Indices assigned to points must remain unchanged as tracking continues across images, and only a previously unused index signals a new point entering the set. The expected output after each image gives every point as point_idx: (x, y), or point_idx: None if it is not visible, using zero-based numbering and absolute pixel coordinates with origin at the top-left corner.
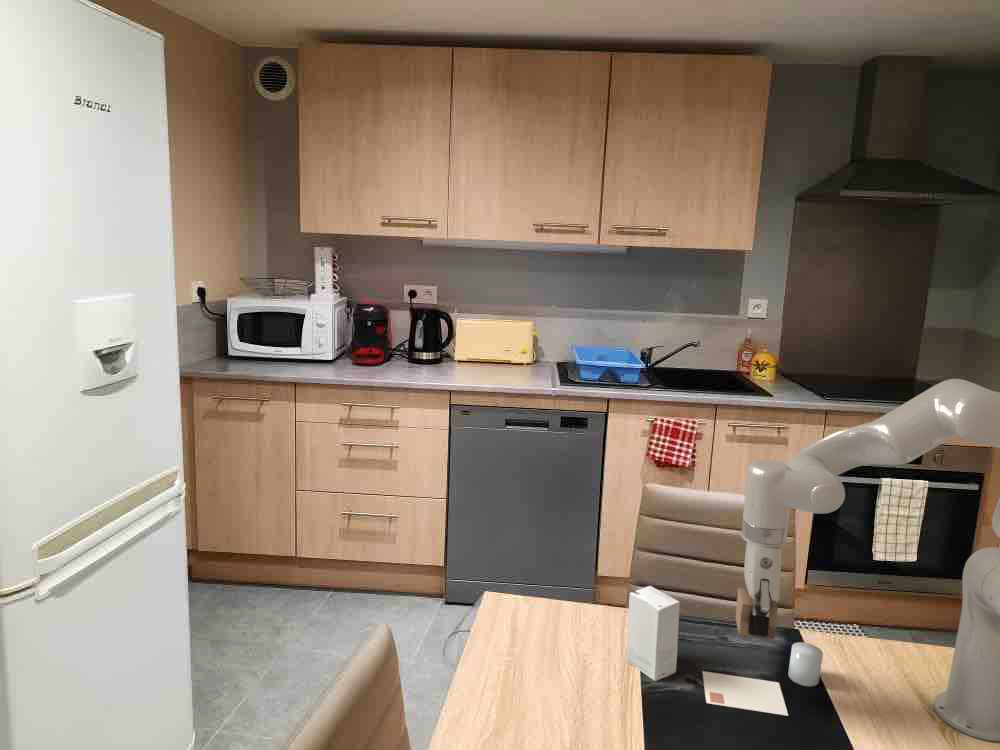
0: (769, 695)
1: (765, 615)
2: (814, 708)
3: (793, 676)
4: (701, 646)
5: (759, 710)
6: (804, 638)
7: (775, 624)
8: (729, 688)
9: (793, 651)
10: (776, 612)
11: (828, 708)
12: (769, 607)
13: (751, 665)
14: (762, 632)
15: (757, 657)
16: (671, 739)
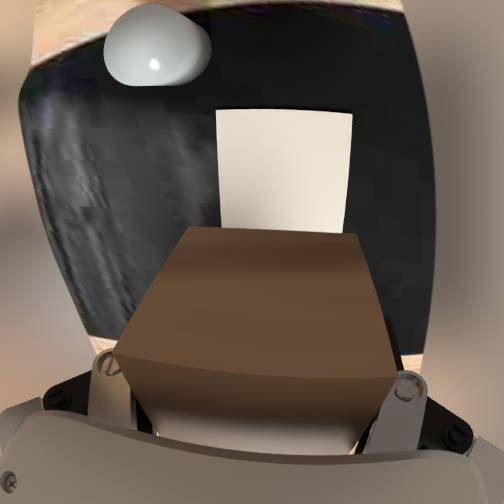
0: (280, 140)
1: (427, 399)
2: (301, 44)
3: (193, 75)
4: (133, 258)
5: (345, 175)
6: (36, 61)
7: (370, 285)
8: (275, 226)
9: (156, 81)
10: (388, 349)
11: (291, 14)
12: (420, 426)
13: (160, 165)
14: (386, 319)
15: (124, 149)
16: (424, 327)
